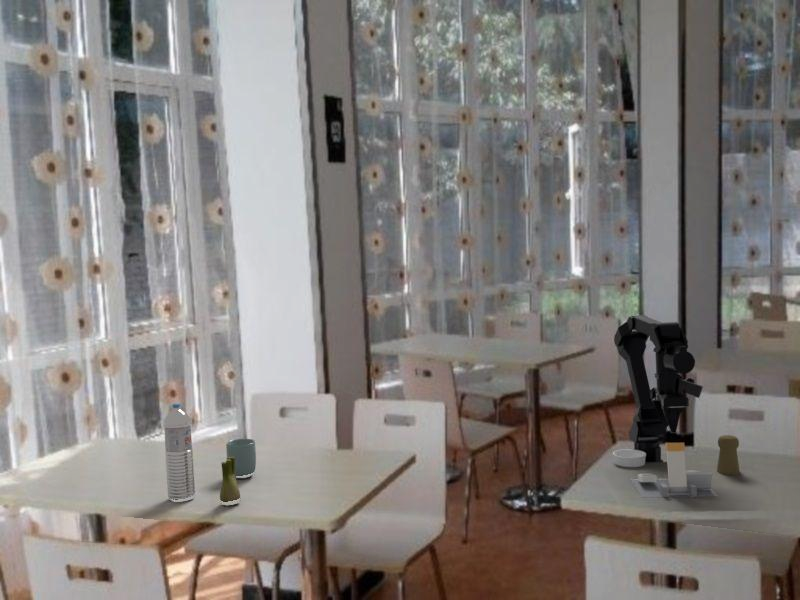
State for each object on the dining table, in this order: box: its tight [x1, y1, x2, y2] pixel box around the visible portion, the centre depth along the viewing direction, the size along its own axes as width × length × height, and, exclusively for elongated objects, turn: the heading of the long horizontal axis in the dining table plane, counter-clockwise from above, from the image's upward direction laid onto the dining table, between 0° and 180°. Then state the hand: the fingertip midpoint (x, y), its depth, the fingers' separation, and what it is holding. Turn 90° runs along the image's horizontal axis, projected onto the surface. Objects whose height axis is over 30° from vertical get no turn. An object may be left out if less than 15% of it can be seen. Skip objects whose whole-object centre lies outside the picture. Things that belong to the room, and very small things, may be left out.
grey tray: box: [629, 477, 719, 498], centre depth 220 cm, size 15×18×4 cm
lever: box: [665, 442, 688, 494], centre depth 214 cm, size 2×4×12 cm, turn 87°
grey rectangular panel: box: [686, 471, 713, 489], centre depth 216 cm, size 1×6×5 cm, turn 86°
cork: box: [716, 434, 741, 476], centre depth 231 cm, size 6×6×11 cm
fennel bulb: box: [219, 456, 241, 502], centre depth 222 cm, size 6×5×12 cm
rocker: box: [637, 473, 658, 482], centre depth 222 cm, size 5×4×2 cm
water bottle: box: [163, 402, 196, 500], centre depth 227 cm, size 7×7×25 cm
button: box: [686, 469, 699, 472], centre depth 221 cm, size 4×4×2 cm
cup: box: [225, 438, 257, 476], centre depth 245 cm, size 8×8×10 cm
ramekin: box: [612, 448, 646, 468], centre depth 242 cm, size 9×9×4 cm
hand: (669, 429), depth 231 cm, fingers open, 9 cm apart
